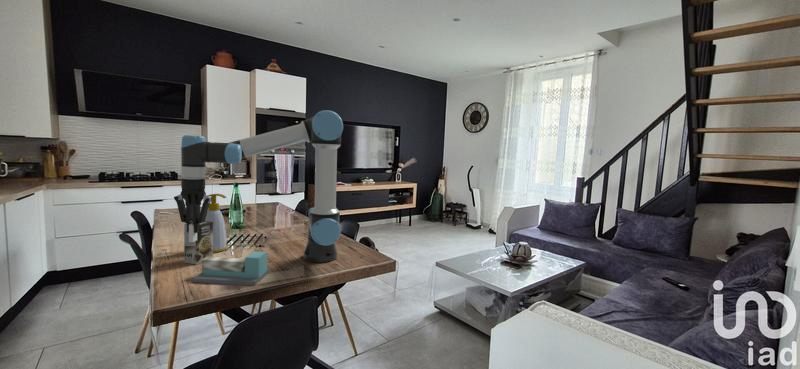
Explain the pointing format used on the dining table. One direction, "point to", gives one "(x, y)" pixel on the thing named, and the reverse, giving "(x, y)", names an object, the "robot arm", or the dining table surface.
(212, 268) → the clear long block
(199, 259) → the coffee box
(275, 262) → the dining table surface
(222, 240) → the soap bottle
